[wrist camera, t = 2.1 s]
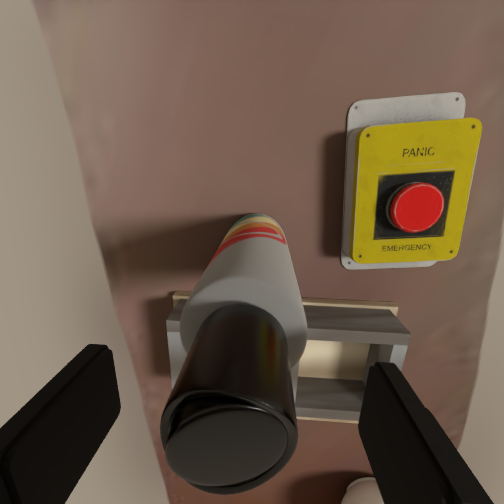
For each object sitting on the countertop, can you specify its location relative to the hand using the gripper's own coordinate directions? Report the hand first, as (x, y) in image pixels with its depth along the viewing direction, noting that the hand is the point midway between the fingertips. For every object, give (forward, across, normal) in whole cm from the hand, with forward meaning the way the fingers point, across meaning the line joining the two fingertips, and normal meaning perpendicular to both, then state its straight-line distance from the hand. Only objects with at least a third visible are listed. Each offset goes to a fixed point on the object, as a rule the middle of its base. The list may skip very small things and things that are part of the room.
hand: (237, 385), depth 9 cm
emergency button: (+18, -12, -6) cm, 23 cm away
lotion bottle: (+17, 0, -1) cm, 17 cm away
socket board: (+17, -3, +13) cm, 22 cm away
